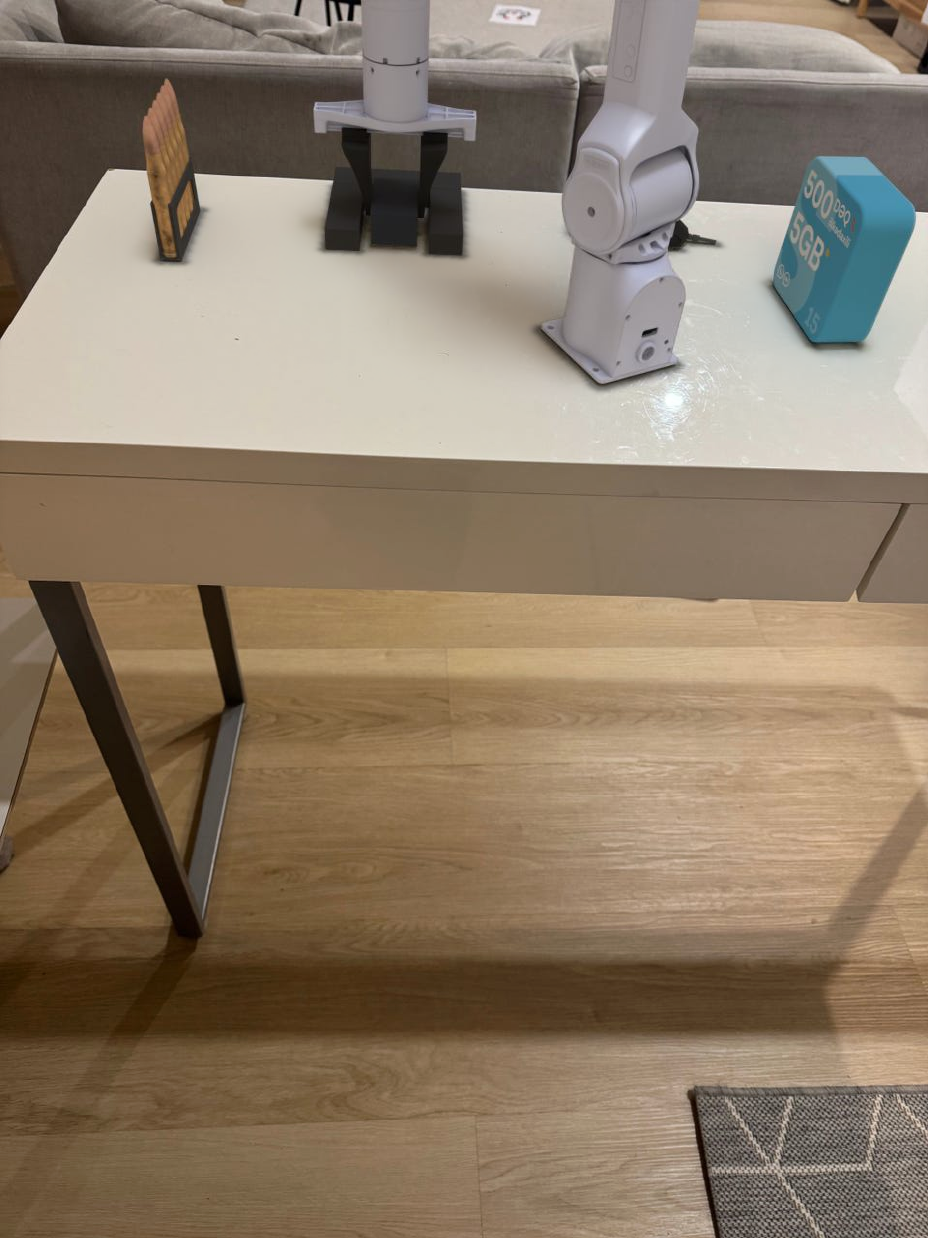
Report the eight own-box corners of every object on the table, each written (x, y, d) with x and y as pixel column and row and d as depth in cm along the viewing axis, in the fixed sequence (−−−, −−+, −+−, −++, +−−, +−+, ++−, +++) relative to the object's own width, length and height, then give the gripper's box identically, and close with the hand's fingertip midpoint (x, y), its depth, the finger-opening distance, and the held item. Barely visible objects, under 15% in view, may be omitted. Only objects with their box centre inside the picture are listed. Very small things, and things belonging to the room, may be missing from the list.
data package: (769, 281, 87) (811, 149, 78) (813, 281, 87) (861, 150, 78) (814, 349, 79) (868, 212, 70) (863, 349, 79) (923, 212, 70)
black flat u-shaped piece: (462, 255, 87) (463, 234, 85) (325, 249, 86) (324, 228, 84) (459, 192, 96) (460, 172, 94) (336, 186, 95) (335, 166, 94)
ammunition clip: (181, 208, 90) (158, 73, 81) (200, 209, 90) (179, 75, 81) (160, 260, 83) (131, 119, 74) (181, 261, 83) (154, 120, 74)
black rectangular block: (416, 247, 86) (417, 215, 84) (370, 244, 86) (370, 213, 84) (418, 209, 92) (418, 179, 89) (374, 207, 91) (374, 177, 89)
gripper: (478, 44, 81) (469, 198, 91) (314, 34, 80) (323, 190, 90) (480, 71, 76) (470, 230, 86) (307, 61, 75) (317, 223, 85)
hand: (395, 212), depth 88 cm, fingers closed on black rectangular block, 4 cm apart
